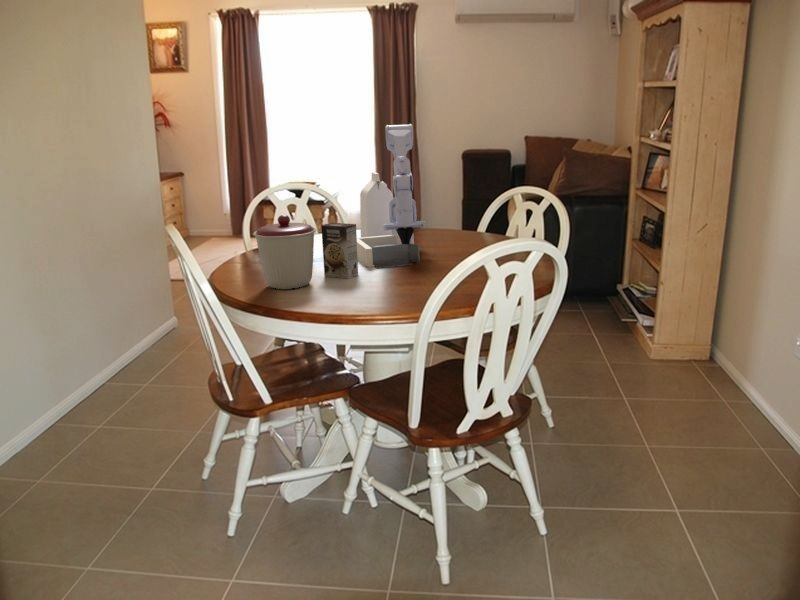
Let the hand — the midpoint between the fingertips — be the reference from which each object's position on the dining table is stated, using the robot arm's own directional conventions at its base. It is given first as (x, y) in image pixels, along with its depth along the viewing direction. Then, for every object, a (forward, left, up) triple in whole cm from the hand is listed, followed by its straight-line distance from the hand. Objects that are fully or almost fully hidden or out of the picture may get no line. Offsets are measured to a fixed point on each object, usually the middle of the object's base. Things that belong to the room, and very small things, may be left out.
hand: (405, 249), depth 245 cm
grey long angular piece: (+11, -6, -2) cm, 13 cm away
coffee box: (+19, -26, -3) cm, 33 cm away
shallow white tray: (0, -8, -2) cm, 9 cm away
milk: (-34, -1, -3) cm, 34 cm away
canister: (+25, -43, -3) cm, 50 cm away
